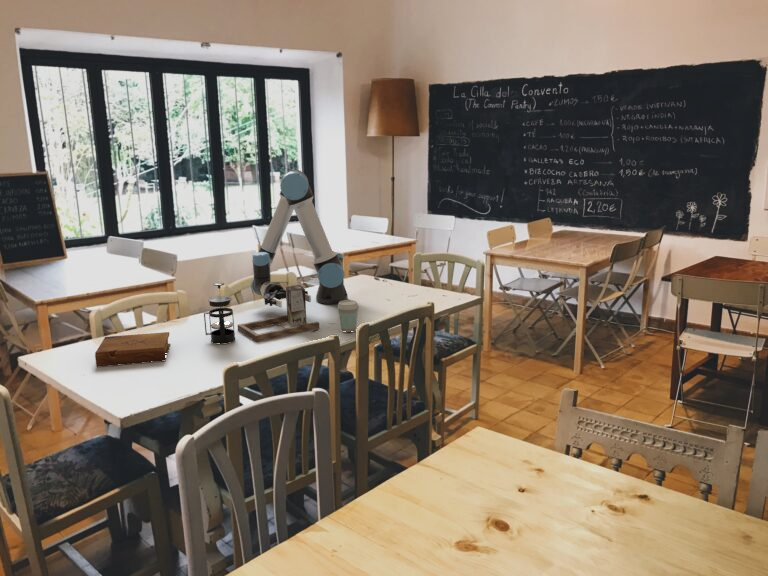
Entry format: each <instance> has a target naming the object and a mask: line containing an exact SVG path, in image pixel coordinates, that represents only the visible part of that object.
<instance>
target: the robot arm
mask: <svg viewBox="0 0 768 576" xmlns="http://www.w3.org/2000/svg"><path fill="white" fill-rule="evenodd" d="M279 184H280V185H279V186H280V192H279V196H280V198H279V201H278V203H277V206H276V207H275V211H274V213H273V216H272V219H271V220H270V223H269V226H268V227H267V230H266V233H265V235H264V238H263V240H262V243H261V245H260V247H259V250H258V252H255V253H253V254H252V261H251V262H252V271H253V279H252V280H251V283H250V288H251V291H252V292H253V293H255V294H256V295H257V296H261V297H263V300H264V305H269V307H273V305H274V306H276V307H278V308H280V309H281V308H282V307H283V304H282V299H286V289H284V288H283V286H281V285H280V284H277V283H276V282H272V278H271V266H272V264H273V262H274V259H275V257H276V253H277V251H278V249H279V246H280V243H281V241H282V239H283V237H284V234H285V232H286V229H287V227H288V225H289V222H290V220H291V217H292V215H293V213H294V212H295V215H296V217H297V219H298V221H299V224H300V226H301V229H302V232H303V234H304V237H305V239H306V241H307V244H308V246H309V249H310V250H311V253H312V255H313V261H312V264H313V267H314V269H315V271H316V273H317V279H318V289H317V291H316V295H315V301H316V302H317V303H318V304H322V303H323V305H336V304H338V303H339V302H340V301H344V300H349V299H348V297H349V296H348V292H347V290H346V287H345V283H344V282H345V281H344V279H345V275H346V274H345V269H344V255H343V253H341V252H335V251H333V250H332V247H331V244H330V242H329V239H328V237H327V235H326V232H325V230H324V227H323V225H322V223H321V221H320V217H319V215H318V213H317V210H316V208H315V207H316V206H315V205H314V203H313V199H314V196H315V195H314V194H313V192H312V188H311V186H310V184H309V179H308V176H307V174H306V173H304V172H303V171H301V170H299V169H293V170H289V171H288V172H286V173H285V174H284V175H283V176H282V178H281V180H280V183H279ZM305 300H306V302H308V303H311V302H312V296H311V295H310V294H309V292H308V290H305Z"/></svg>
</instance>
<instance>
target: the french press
mask: <svg viewBox="0 0 768 576" xmlns="http://www.w3.org/2000/svg"><path fill="white" fill-rule="evenodd" d="M224 285H225V283H224V282H216V283H213V286H214V287H217V289H218V294H219V295H216V296H211V297H209V298H208V299H207V301H208V302H209V303H208V304H209V306H210V307H213V309H210V310H209V311H207V312H203V318H204V320H203V321H204V330H205V335H206V336H210V342H211V343H212V342H213V343H212V344H214V343H220V344H219V345H222V344H221V343H227V344H230V343H229V342H231V343H233V342H235V341H236V336H235V335H236V334H235V325H234V324H235V321H234V319H232V322H231V321H225V318H227V317H230V316H232V317H234V310H233V309H232V308H230V307H228V305H230V302H231V301H232V300H233V298H232V296H228V295H221V286H224ZM224 312H227V313H224ZM206 315H208V316H209V319H211V318H218V320H219V321H217V322H214V323H212V322H211V320H209V328H210V329H209V330H210V332H208V331H207V322H206ZM211 323H212V324H211ZM232 328H233V329H232ZM212 329H214V330H212Z"/></svg>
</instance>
